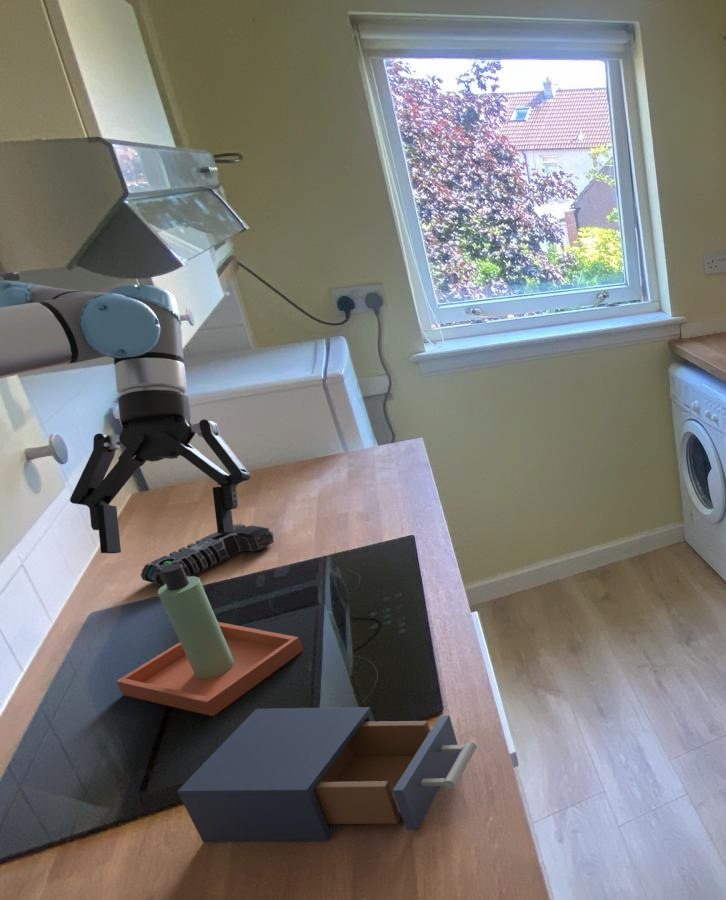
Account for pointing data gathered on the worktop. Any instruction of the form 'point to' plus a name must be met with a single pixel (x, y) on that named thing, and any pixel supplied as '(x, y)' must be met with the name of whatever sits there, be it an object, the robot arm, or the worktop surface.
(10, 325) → the robot arm
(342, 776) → the drawer
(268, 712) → the cabinet
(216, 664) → the green bottle
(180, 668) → the tray
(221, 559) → the sci-fi power cell
